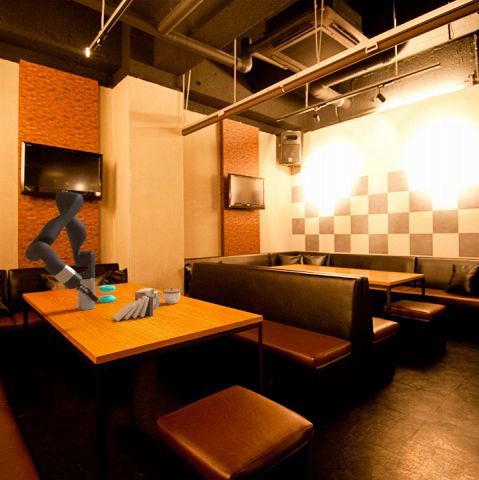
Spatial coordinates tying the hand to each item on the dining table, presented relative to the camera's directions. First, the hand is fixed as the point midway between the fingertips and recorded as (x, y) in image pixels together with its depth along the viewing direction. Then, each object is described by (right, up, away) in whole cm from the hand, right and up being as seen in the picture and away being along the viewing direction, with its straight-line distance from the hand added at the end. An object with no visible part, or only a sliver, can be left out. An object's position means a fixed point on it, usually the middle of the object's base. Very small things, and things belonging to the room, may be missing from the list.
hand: (96, 300), depth 156 cm
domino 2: (+10, -10, +8) cm, 16 cm away
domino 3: (+13, -10, +11) cm, 20 cm away
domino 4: (+17, -10, +14) cm, 24 cm away
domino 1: (+7, -10, +6) cm, 13 cm away
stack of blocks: (+16, -11, +28) cm, 34 cm away
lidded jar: (+25, -11, +49) cm, 56 cm away
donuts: (-17, -11, +56) cm, 59 cm away
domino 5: (+21, -11, +16) cm, 28 cm away
